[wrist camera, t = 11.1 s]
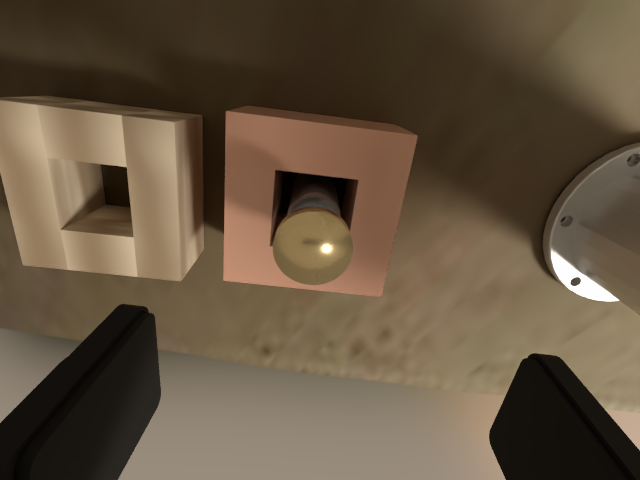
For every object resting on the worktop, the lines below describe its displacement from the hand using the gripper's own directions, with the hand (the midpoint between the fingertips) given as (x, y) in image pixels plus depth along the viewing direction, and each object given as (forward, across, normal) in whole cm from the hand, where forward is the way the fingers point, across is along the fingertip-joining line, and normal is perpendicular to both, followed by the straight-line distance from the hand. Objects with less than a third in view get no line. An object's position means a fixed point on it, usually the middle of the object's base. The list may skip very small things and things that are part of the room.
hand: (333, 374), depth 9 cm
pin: (+18, +1, 0) cm, 18 cm away
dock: (+18, +1, 0) cm, 18 cm away
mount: (+18, +14, +1) cm, 23 cm away
